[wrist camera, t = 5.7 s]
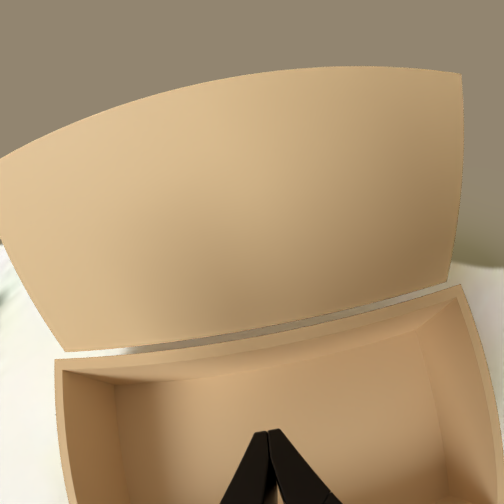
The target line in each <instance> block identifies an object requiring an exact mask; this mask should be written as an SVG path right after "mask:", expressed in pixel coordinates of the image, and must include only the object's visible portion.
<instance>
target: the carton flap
mask: <svg viewBox="0 0 504 504" xmlns="http://www.w3.org/2000/svg"><path fill="white" fill-rule="evenodd" d="M462 91H463V90H462V78H461V74H458V73H451V72H444V71H435V70H426V69H415V68H401V67H379V66H339V67H316V68H302V69H290V70H281V71H272V72H264V73H256V74H250V75H243V76H237V77H231V78H226V79H220V80H215V81H210V82H205V83H200V84H196V85H191V86H187V87H183V88H179V89H175V90H171V91H167V92H163V93H160V94H156V95H153V96H149V97H146V98H142V99H139V100H136V101H133V102H129V103H126V104H123V105H120V106H117V107H115V108H112V109H109V110H106V111H103V112H100V113H98V114H95V115H92V116H90V117H87V118H85V119H82V120H80V121H77V122H75V123H72V124H70V125H67V126H65V127H63V128H61V129H58V130H56V131H54V132H52V133H50V134H47V135H45V136H43V137H41V138H39V139H37V140H35V141H33V142H31V143H29V144H27V145H25V146H23V147H21V148H19V149H17V150H15V151H13V152H12V153H10V154H8V155H6V156H4V157H2V158H1V159H0V238H1V240H2V243H3V245H4V247H5V249H6V252H7V254H8V256H9V258H10V260H11V262H12V264H13V266H14V268H15V270H16V272H17V274H18V276H19V278H20V280H21V282H22V283H23V285H24V287H25V289H26V291H27V292H28V294H29V296H30V298H31V299H32V301H33V303H34V305H35V306H36V308H37V310H38V311H39V313H40V315H41V316H42V318H43V319H44V321H45V323H46V324H47V326H48V327H49V329H50V330H51V332H52V333H53V335H54V336H55V338H56V339H57V341H58V342H59V344H60V345H61V347H62V348H63V349H64V351H65V352H77V351H91V350H103V349H114V348H124V347H134V346H143V345H152V344H160V343H168V342H175V341H183V340H190V339H197V338H203V337H210V336H216V335H222V334H228V333H234V332H240V331H246V330H251V329H257V328H262V327H267V326H273V325H278V324H283V323H288V322H292V321H297V320H302V319H307V318H311V317H316V316H320V315H325V314H329V313H333V312H338V311H342V310H346V309H350V308H354V307H358V306H362V305H366V304H370V303H374V302H378V301H381V300H385V299H389V298H392V297H396V296H400V295H403V294H407V293H410V292H414V291H417V290H421V289H424V288H427V287H431V286H434V285H437V284H440V283H444V282H446V281H447V277H448V272H449V268H450V263H451V258H452V252H453V247H454V241H455V234H456V228H457V222H458V214H459V206H460V197H461V186H462V173H463V152H464V110H463V92H462Z"/></svg>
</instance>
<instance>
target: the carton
mask: <svg viewBox="0 0 504 504" xmlns="http://www.w3.org/2000/svg"><path fill="white" fill-rule="evenodd" d="M55 406H56V420H57V432H58V441H59V449H60V457H61V464H62V470H63V476H64V481H65V486H66V491H67V496H68V501H69V504H219V503H220V501H221V499H222V498H223V496H224V494H225V492H226V490H227V488H228V486H229V484H230V482H231V480H232V478H233V476H234V474H235V472H236V470H237V468H238V466H239V464H240V462H241V460H242V458H243V455H244V453H245V451H246V449H247V447H248V445H249V443H250V441H251V438H252V436H253V434H254V433H255V432H259V431H267V432H268V430H271V429H277V428H279V429H281V430H282V432H283V433H284V434H285V435H286V437H287V438H288V439H289V441H290V442H291V443H292V444H293V446H294V447H295V448H296V449H297V451H298V452H299V453H300V454H301V456H302V457H303V458H304V459H305V461H306V462H307V463H308V464H309V465H310V467H311V468H312V469H313V470H314V471H315V473H316V474H317V475H318V476H319V477H320V479H321V480H322V481H323V482H324V483H325V485H326V486H327V487H328V488H329V489H330V490H331V492H333V494H334V495H335V496H336V497H337V498H338V499H339V500H340V501H341V502H342V503H343V504H504V455H503V446H502V437H501V430H500V423H499V417H498V411H497V406H496V401H495V396H494V391H493V386H492V382H491V378H490V374H489V370H488V366H487V362H486V358H485V354H484V351H483V347H482V344H481V341H480V338H479V334H478V331H477V328H476V325H475V322H474V319H473V316H472V313H471V310H470V308H469V305H468V302H467V299H466V297H465V294H464V292H463V289H462V286H461V284H459V285H456V286H453V287H450V288H447V289H444V290H441V291H438V292H435V293H432V294H428V295H425V296H422V297H419V298H415V299H412V300H409V301H405V302H402V303H398V304H395V305H391V306H388V307H384V308H380V309H377V310H373V311H369V312H365V313H361V314H358V315H354V316H350V317H346V318H341V319H337V320H333V321H329V322H325V323H320V324H316V325H311V326H307V327H302V328H297V329H293V330H288V331H283V332H278V333H273V334H267V335H262V336H257V337H251V338H246V339H240V340H234V341H228V342H222V343H215V344H209V345H202V346H195V347H188V348H181V349H173V350H165V351H156V352H147V353H137V354H127V355H116V356H103V357H89V358H71V359H55ZM277 488H278V485H277ZM278 504H283V501H282V498H281V495H280V492H279V488H278Z"/></svg>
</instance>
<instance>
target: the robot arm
mask: <svg viewBox="0 0 504 504" xmlns="http://www.w3.org/2000/svg"><path fill="white" fill-rule="evenodd" d="M277 485H278V488H279V492H280V495H281V498H282V501H283V504H343V503H342V502H341V501H340V500H339V499H338V498H337V497H336V496H335V495H334V494H333V492H331V490H330V489H329V488H328V487H327V486H326V485H325V483H324V482H323V481H322V480H321V479H320V477H319V476H318V475H317V474H316V473H315V471H314V470H313V469H312V468H311V467H310V465H309V464H308V463H307V462H306V461H305V459H304V458H303V457H302V456H301V454H300V453H299V452H298V451H297V449H296V448H295V447H294V446H293V444H292V443H291V442H290V441H289V439H288V438H287V437H286V435H285V434H284V433H283V432H282V430H281V429H279V428H277V429H271V430H268V432H267V431H259V432H255V433H254V434H253V436H252V438H251V441H250V443H249V445H248V447H247V449H246V451H245V453H244V455H243V458H242V460H241V462H240V464H239V466H238V468H237V470H236V472H235V474H234V476H233V478H232V480H231V482H230V484H229V486H228V488H227V490H226V492H225V494H224V496H223V498H222V499H221V501H220V503H219V504H278V488H277Z"/></svg>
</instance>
